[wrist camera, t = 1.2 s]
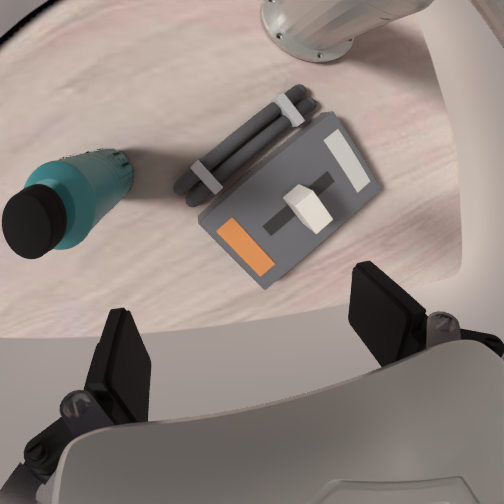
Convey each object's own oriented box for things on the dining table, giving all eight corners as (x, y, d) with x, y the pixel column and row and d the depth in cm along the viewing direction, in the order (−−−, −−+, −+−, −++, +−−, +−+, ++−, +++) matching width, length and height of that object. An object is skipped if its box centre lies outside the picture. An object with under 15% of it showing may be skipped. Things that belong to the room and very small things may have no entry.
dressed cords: (297, 81, 30) (304, 78, 28) (316, 107, 31) (324, 105, 29) (170, 185, 32) (168, 188, 29) (193, 209, 33) (193, 214, 31)
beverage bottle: (146, 159, 30) (88, 191, 12) (124, 210, 32) (60, 299, 13) (98, 138, 28) (-3, 149, 10) (78, 190, 29) (-20, 256, 11)
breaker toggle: (298, 184, 31) (313, 190, 28) (317, 209, 33) (333, 219, 29) (282, 197, 32) (295, 206, 28) (302, 223, 33) (316, 234, 30)
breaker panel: (322, 112, 32) (333, 111, 29) (368, 184, 37) (381, 189, 34) (197, 216, 34) (198, 223, 31) (259, 279, 39) (265, 290, 36)
